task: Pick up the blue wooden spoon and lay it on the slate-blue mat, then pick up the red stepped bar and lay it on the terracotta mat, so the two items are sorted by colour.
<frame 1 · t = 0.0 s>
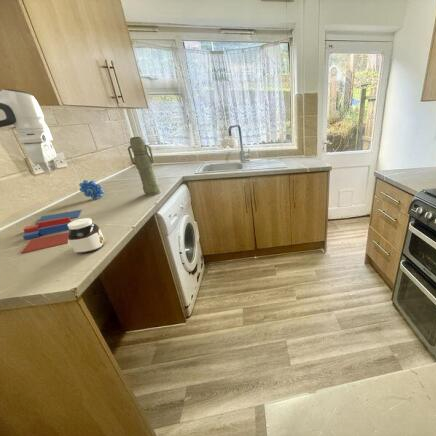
hand: (51, 171, 100), 26 cm above the countertop, tool pointing down, fingers open, 8 cm apart
thermos: (153, 195, 154), on the countertop
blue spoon: (53, 232, 107), on the countertop
terracotta mat: (53, 241, 100), on the countertop
blue gear: (94, 199, 149), on the countertop
spread jar: (88, 249, 93), on the countertop
slate-blue mat: (60, 217, 123), on the countertop
red stepped bar: (52, 226, 113), on the countertop
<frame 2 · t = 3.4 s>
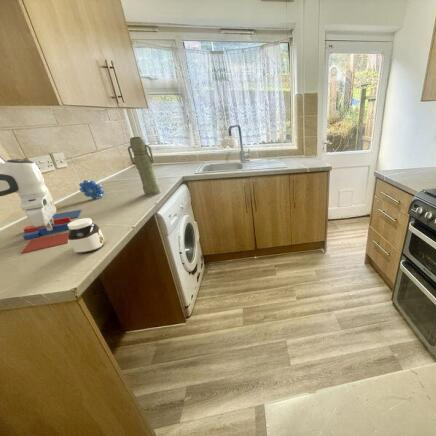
hand: (51, 228, 106), 2 cm above the countertop, tool pointing down, fingers closed on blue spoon
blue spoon: (53, 232, 107), on the countertop, touching gripper
everything else where it was.
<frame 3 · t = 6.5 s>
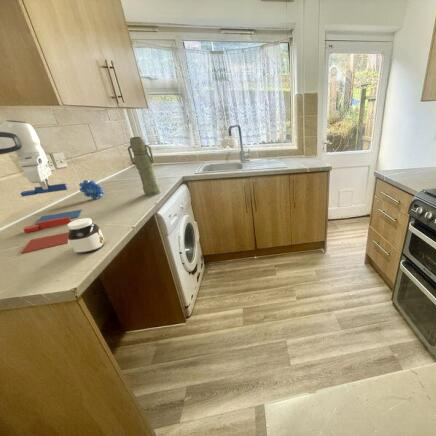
hand: (46, 188, 116), 16 cm above the countertop, tool pointing down, fingers closed on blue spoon
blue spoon: (48, 192, 117), point 14 cm above the countertop, touching gripper
everything else where it was.
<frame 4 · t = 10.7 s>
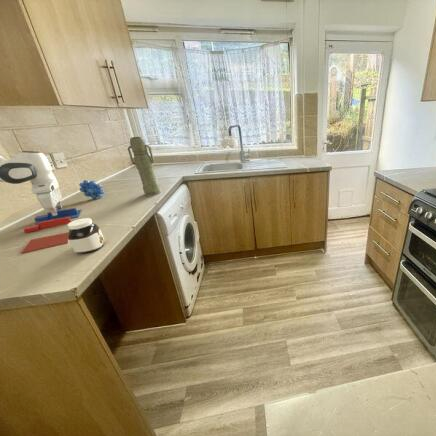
hand: (57, 212, 122), 3 cm above the countertop, tool pointing down, fingers open, 8 cm apart
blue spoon: (60, 216, 123), point 1 cm above the countertop, touching slate-blue mat
everything else where it was.
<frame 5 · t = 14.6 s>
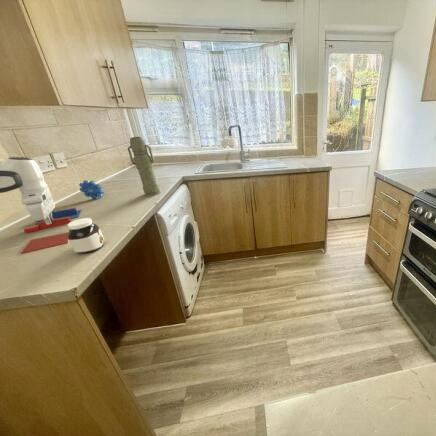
hand: (50, 222, 113), 2 cm above the countertop, tool pointing down, fingers closed on red stepped bar
red stepped bar: (52, 226, 113), on the countertop, touching gripper
everything else where it was.
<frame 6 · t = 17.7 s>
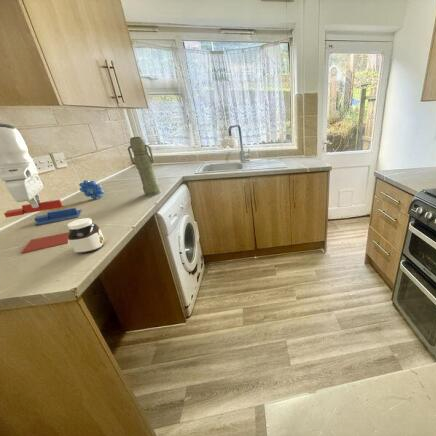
hand: (37, 206, 94), 15 cm above the countertop, tool pointing down, fingers closed on red stepped bar
red stepped bar: (39, 210, 95), point 13 cm above the countertop, touching gripper
everything else where it was.
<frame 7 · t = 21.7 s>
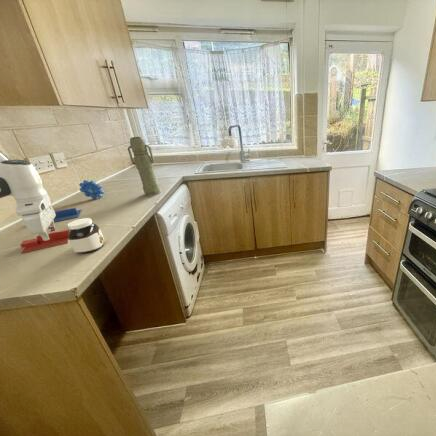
hand: (50, 235, 98), 3 cm above the countertop, tool pointing down, fingers open, 8 cm apart
red stepped bar: (53, 240, 100), point 1 cm above the countertop, touching terracotta mat
everything else where it was.
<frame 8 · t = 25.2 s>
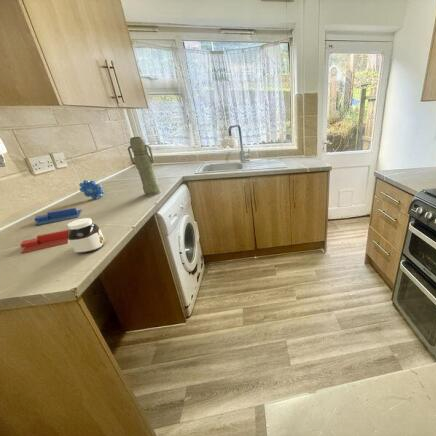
nothing on the countertop moved.
at the end: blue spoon inside the target area on the slate-blue mat (0.2 cm from its centre), point 0.6 cm above the slate-blue mat's base; red stepped bar inside the target area on the terracotta mat (0.2 cm from its centre), point 0.6 cm above the terracotta mat's base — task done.
